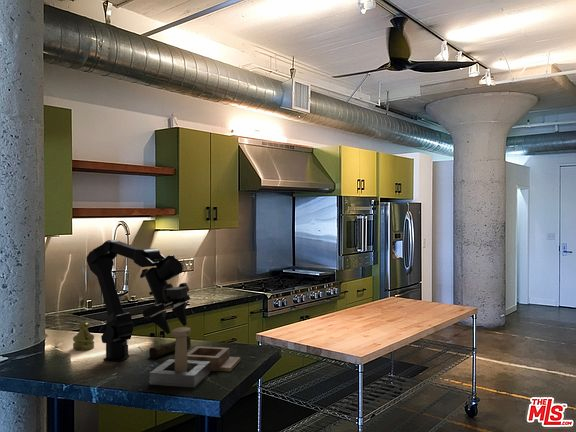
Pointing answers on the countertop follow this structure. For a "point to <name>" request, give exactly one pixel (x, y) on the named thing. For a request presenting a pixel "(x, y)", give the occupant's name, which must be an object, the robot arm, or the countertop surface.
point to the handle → (181, 348)
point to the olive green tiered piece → (83, 338)
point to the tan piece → (214, 357)
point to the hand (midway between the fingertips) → (177, 329)
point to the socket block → (180, 374)
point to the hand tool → (165, 348)
